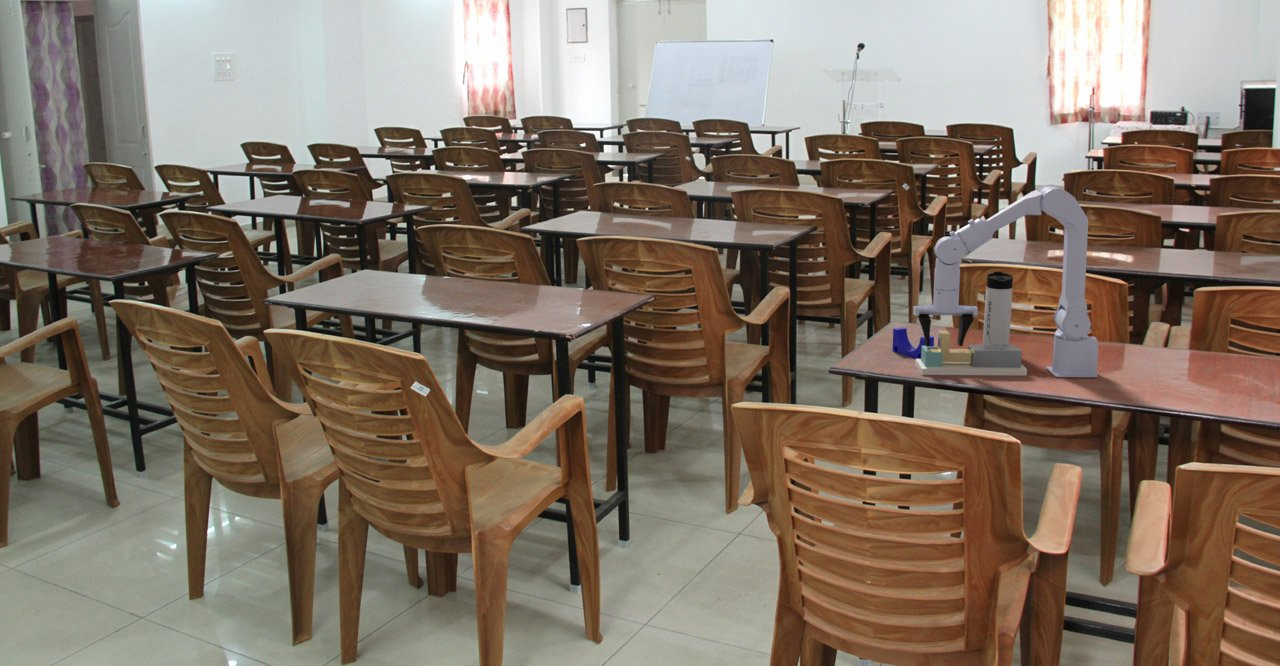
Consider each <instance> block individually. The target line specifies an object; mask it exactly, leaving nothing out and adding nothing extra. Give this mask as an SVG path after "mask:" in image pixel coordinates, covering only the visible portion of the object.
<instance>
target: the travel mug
mask: <svg viewBox="0 0 1280 666" xmlns="http://www.w3.org/2000/svg"><path fill="white" fill-rule="evenodd" d="M1013 284H1014V276H1013V275H1011V274H1010V273H1005V272H1002V271H993V272H991V273H988V274H987V275H986V286H985V288H986V289H985V298H984V300H985V301H984V302H985V303H984V318H983V320H984V321H983V336H982V345H1010V337H1011V336H1010V331H1011V322H1012V321H1011V318H1012V306H1013V305H1012V303H1013V302H1012V301H1013Z"/></svg>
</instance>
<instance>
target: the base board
mask: <svg viewBox="0 0 1280 666" xmlns="http://www.w3.org/2000/svg"><path fill="white" fill-rule="evenodd" d="M914 365H915V367H916V369H917V370H918V371H919V373H920V375H921V376H1024V377H1025V376H1027V375H1028V369H1027V367H1025V366H1024V365H1023V364H1022V363H1021V368H1008V367H972V366H971V364H970V363H943V364H942V367H925V366H924V365H923V363H922V362H921V359H915V363H914Z"/></svg>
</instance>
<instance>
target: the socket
mask: <svg viewBox="0 0 1280 666" xmlns="http://www.w3.org/2000/svg"><path fill="white" fill-rule="evenodd" d="M929 349H938V346H934V347H926V346H922V348H921V362H922V363H923V365H924V366H925V367H942V364H943V352H930V351H929Z"/></svg>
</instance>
